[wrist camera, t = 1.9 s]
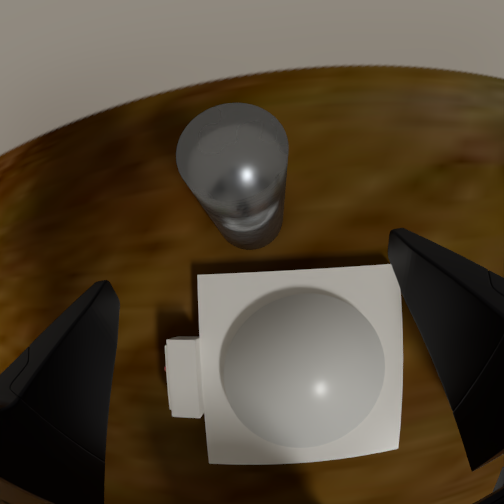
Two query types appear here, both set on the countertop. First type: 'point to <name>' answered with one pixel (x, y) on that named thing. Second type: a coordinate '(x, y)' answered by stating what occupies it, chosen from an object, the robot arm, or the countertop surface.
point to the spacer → (237, 171)
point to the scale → (293, 365)
